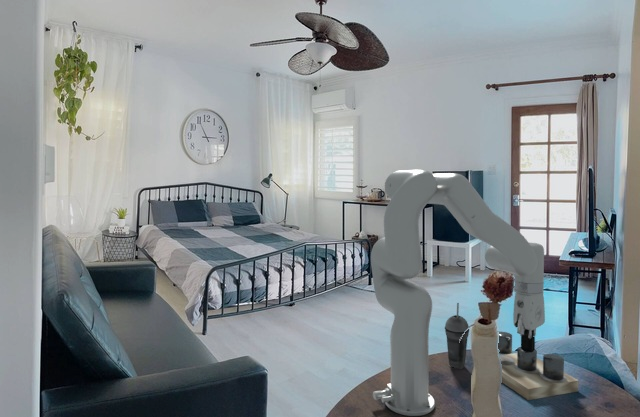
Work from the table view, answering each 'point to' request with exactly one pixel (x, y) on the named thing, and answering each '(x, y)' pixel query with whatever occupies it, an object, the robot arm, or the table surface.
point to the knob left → (505, 343)
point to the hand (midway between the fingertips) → (527, 349)
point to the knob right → (553, 366)
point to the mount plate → (534, 380)
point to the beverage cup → (456, 340)
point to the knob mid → (526, 359)
